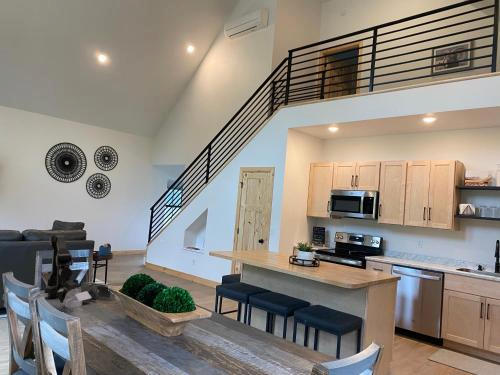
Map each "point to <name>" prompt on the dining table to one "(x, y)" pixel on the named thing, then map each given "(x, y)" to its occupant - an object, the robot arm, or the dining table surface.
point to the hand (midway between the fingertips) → (61, 302)
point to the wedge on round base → (77, 300)
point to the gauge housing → (103, 292)
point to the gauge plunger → (91, 290)
